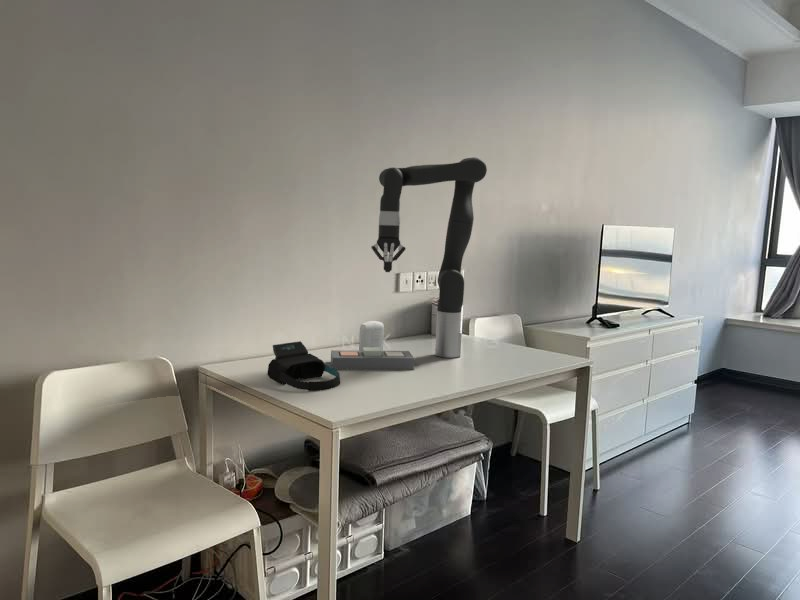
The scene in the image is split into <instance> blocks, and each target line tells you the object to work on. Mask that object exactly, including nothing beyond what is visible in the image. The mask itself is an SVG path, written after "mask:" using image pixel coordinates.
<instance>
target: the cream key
mask: <svg viewBox="0 0 800 600" xmlns="http://www.w3.org/2000/svg"><path fill="white" fill-rule="evenodd" d="M385 356H388V357H404V354H403V353H402V352H385Z"/></svg>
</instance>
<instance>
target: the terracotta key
mask: <svg viewBox="0 0 800 600" xmlns="http://www.w3.org/2000/svg"><path fill="white" fill-rule="evenodd" d="M340 356H359V355H358V353H357V352H340Z"/></svg>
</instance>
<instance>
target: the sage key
mask: <svg viewBox="0 0 800 600" xmlns="http://www.w3.org/2000/svg"><path fill="white" fill-rule="evenodd" d="M363 356H382V351H381V349H380V348H377V347H363Z"/></svg>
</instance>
